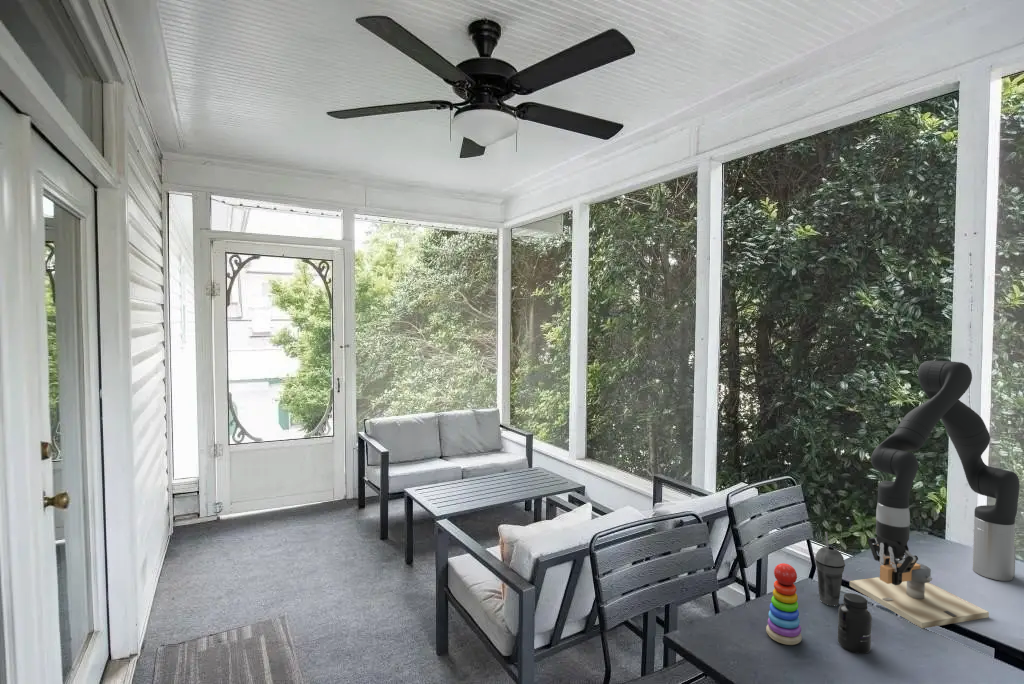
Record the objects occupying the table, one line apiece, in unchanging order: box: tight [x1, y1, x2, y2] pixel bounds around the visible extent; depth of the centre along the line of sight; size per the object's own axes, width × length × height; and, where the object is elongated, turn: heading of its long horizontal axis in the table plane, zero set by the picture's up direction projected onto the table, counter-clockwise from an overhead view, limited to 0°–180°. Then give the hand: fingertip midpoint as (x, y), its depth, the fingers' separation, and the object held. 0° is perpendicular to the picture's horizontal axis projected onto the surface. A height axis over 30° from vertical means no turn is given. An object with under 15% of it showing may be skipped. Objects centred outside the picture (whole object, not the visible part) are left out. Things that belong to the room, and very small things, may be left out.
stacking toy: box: [765, 562, 803, 646], centre depth 131 cm, size 8×8×19 cm
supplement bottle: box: [837, 592, 873, 655], centre depth 127 cm, size 7×7×12 cm
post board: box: [849, 576, 990, 629], centre depth 147 cm, size 22×22×6 cm
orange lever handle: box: [879, 562, 933, 584], centre depth 146 cm, size 14×8×4 cm, turn 103°
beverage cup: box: [814, 531, 846, 607], centre depth 147 cm, size 7×7×20 cm
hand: (891, 581), depth 145 cm, fingers closed on orange lever handle, 2 cm apart
